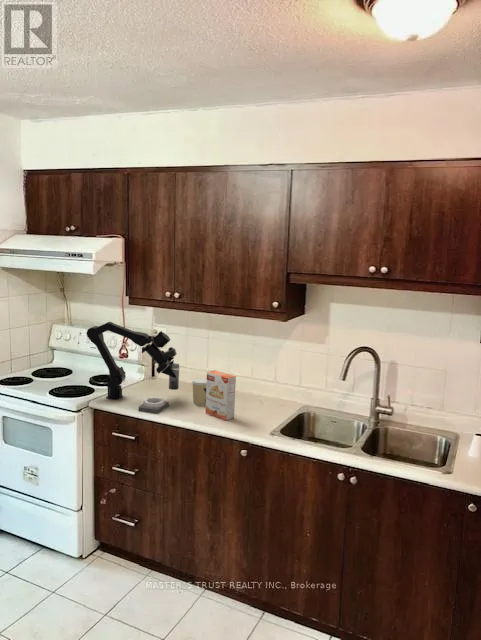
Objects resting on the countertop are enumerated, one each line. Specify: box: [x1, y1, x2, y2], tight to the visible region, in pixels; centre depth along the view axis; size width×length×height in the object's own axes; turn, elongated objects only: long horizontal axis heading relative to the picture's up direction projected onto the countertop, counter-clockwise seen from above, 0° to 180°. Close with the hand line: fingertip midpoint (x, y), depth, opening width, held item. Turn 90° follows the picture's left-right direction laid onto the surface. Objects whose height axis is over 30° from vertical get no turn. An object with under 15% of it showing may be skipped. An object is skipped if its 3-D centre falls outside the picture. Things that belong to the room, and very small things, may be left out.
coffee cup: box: [192, 377, 207, 407], centre depth 264 cm, size 9×9×12 cm
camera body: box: [138, 396, 170, 415], centre depth 254 cm, size 10×13×4 cm
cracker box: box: [205, 369, 237, 421], centre depth 246 cm, size 14×6×21 cm, turn 49°
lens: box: [168, 362, 180, 391], centre depth 264 cm, size 5×5×13 cm
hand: (176, 376), depth 264 cm, fingers closed on lens, 5 cm apart
